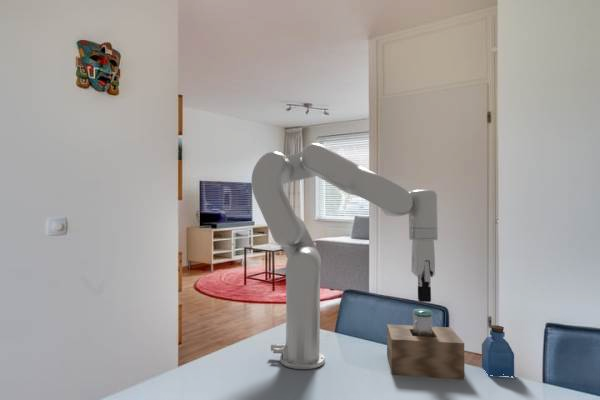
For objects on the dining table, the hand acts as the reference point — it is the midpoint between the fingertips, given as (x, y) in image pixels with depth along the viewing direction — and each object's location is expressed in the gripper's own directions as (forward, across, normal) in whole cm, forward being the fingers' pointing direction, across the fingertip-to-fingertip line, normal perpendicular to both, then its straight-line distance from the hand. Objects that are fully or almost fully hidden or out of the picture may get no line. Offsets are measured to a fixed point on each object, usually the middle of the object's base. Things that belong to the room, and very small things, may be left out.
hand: (424, 300), depth 106 cm
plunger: (+12, 0, -1) cm, 12 cm away
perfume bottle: (+18, +1, +18) cm, 26 cm away
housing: (+18, 0, -1) cm, 18 cm away
